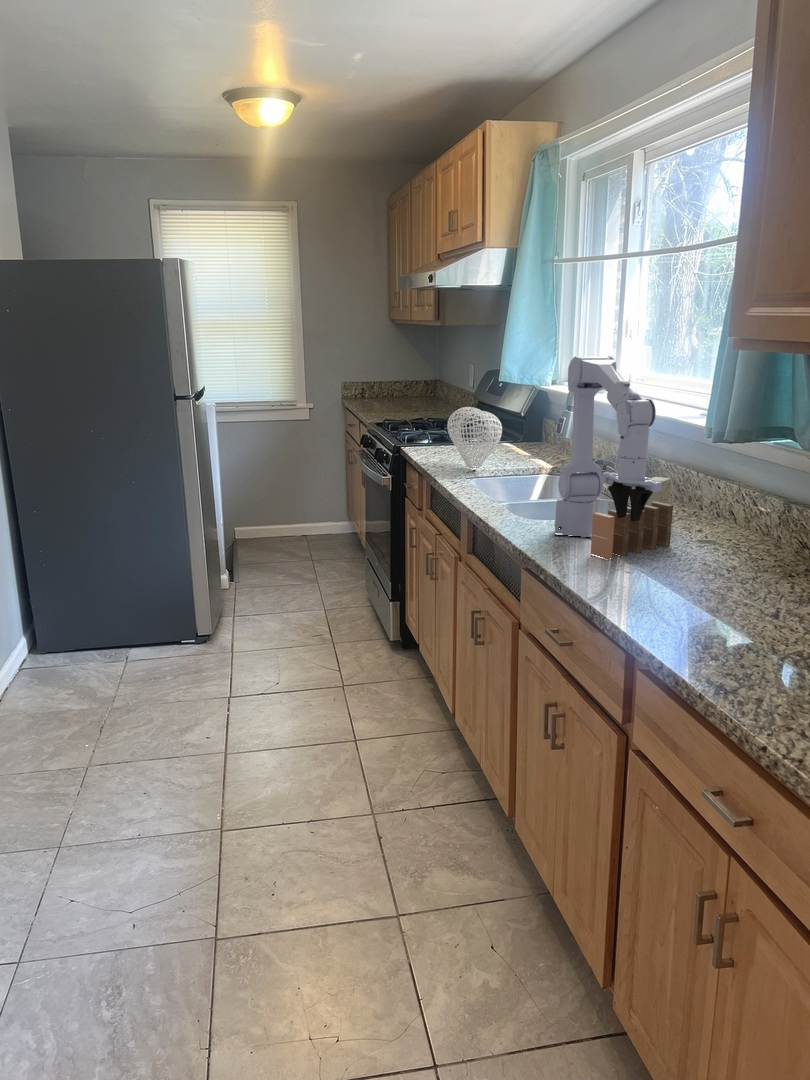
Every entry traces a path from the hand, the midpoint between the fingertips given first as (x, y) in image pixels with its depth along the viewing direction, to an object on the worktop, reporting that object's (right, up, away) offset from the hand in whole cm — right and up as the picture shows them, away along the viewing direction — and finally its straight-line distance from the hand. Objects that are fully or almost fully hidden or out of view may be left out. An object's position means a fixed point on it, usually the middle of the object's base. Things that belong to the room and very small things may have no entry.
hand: (628, 519), depth 172 cm
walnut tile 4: (0, -8, +11) cm, 13 cm away
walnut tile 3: (+4, -7, +14) cm, 16 cm away
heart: (-24, +20, +115) cm, 119 cm away
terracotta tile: (-4, -9, +8) cm, 13 cm away
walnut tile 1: (+13, -6, +19) cm, 24 cm away
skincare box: (+18, 0, +38) cm, 42 cm away
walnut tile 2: (+9, -6, +16) cm, 20 cm away
